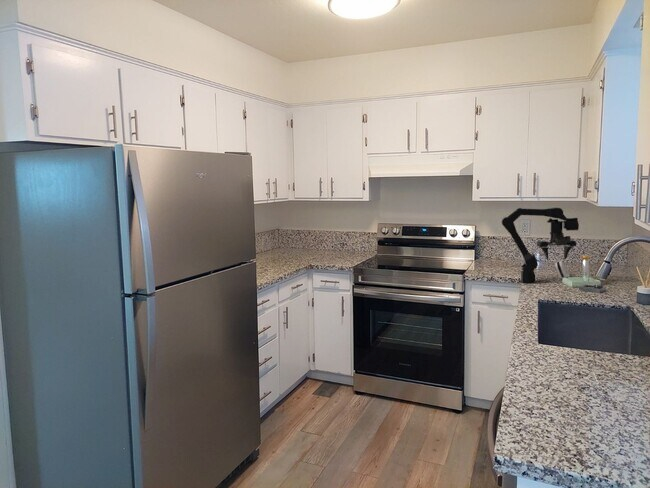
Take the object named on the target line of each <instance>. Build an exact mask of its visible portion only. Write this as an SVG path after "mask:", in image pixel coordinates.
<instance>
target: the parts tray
mask: <svg viewBox="0 0 650 488" xmlns="http://www.w3.org/2000/svg"><path fill="white" fill-rule="evenodd" d="M561 280H562V282H561V283H562V285H563V284H564V285H566V286H567V287H570V288H579V286H582V285H602V284H601V283H602V282H601V280H598V279H596V278H593V277H591V276H589V281H583V280H582V276H581V277H579V276H576V277H570V278H568V277H562V278H561Z"/></svg>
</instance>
